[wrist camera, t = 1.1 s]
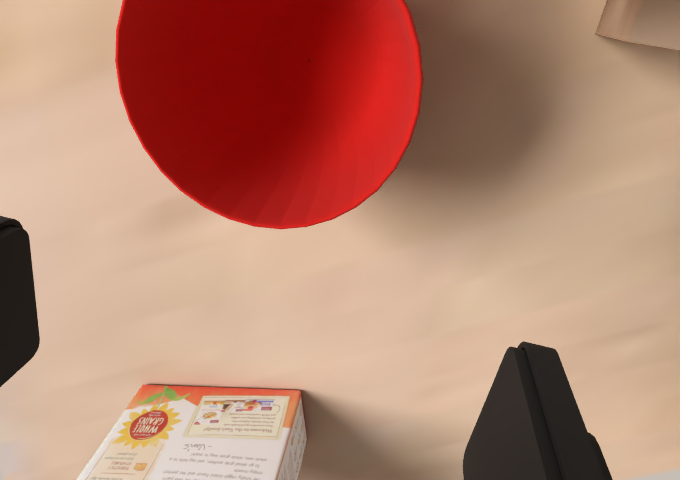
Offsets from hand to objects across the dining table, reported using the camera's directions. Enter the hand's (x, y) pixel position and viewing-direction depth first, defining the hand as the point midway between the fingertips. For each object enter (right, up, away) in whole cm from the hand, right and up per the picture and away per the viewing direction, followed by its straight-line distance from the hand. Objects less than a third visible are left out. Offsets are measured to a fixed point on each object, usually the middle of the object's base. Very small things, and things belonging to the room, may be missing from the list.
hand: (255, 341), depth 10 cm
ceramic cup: (+1, +14, +19) cm, 24 cm away
